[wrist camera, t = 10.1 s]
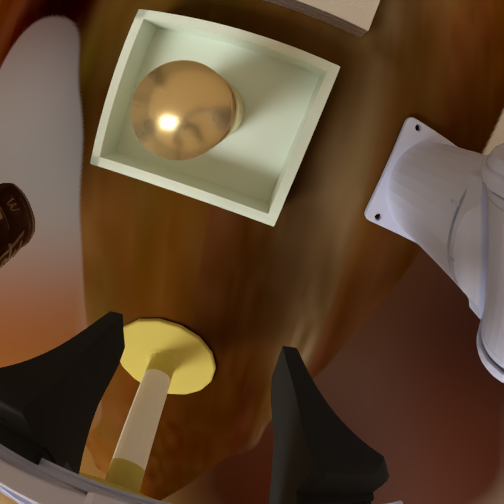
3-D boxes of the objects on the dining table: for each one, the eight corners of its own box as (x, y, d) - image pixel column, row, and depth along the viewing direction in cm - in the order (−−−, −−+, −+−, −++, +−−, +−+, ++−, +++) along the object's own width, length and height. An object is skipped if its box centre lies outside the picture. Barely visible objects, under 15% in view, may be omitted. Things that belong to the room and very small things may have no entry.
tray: (329, 73, 17) (340, 66, 14) (272, 211, 21) (273, 226, 18) (154, 21, 16) (138, 9, 13) (110, 156, 20) (90, 163, 17)
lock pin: (253, 89, 17) (245, 74, 10) (233, 148, 19) (213, 172, 12) (192, 73, 17) (146, 52, 10) (174, 131, 18) (120, 146, 11)
